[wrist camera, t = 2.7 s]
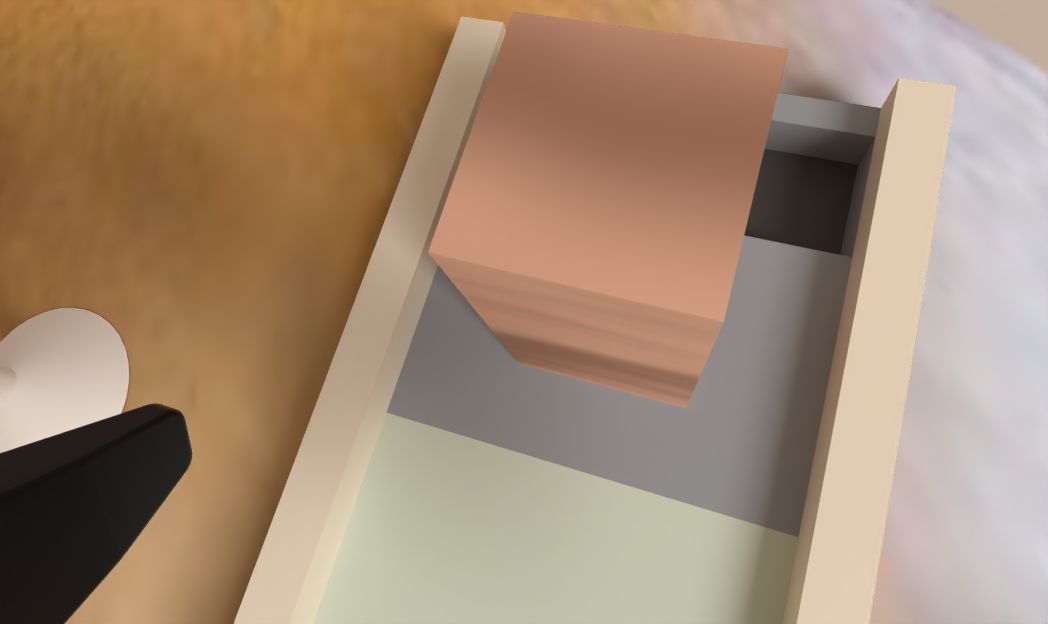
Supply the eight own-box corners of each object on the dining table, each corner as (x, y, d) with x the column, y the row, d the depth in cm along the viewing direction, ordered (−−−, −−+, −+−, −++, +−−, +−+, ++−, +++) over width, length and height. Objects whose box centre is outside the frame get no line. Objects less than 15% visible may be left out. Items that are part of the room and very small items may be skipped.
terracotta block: (685, 408, 19) (724, 322, 10) (518, 363, 20) (428, 251, 11) (724, 247, 20) (788, 48, 11) (564, 214, 21) (513, 11, 13)
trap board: (756, 1005, 16) (786, 1130, 13) (241, 763, 20) (161, 813, 17) (909, 150, 22) (956, 86, 18) (484, 81, 25) (461, 16, 22)
